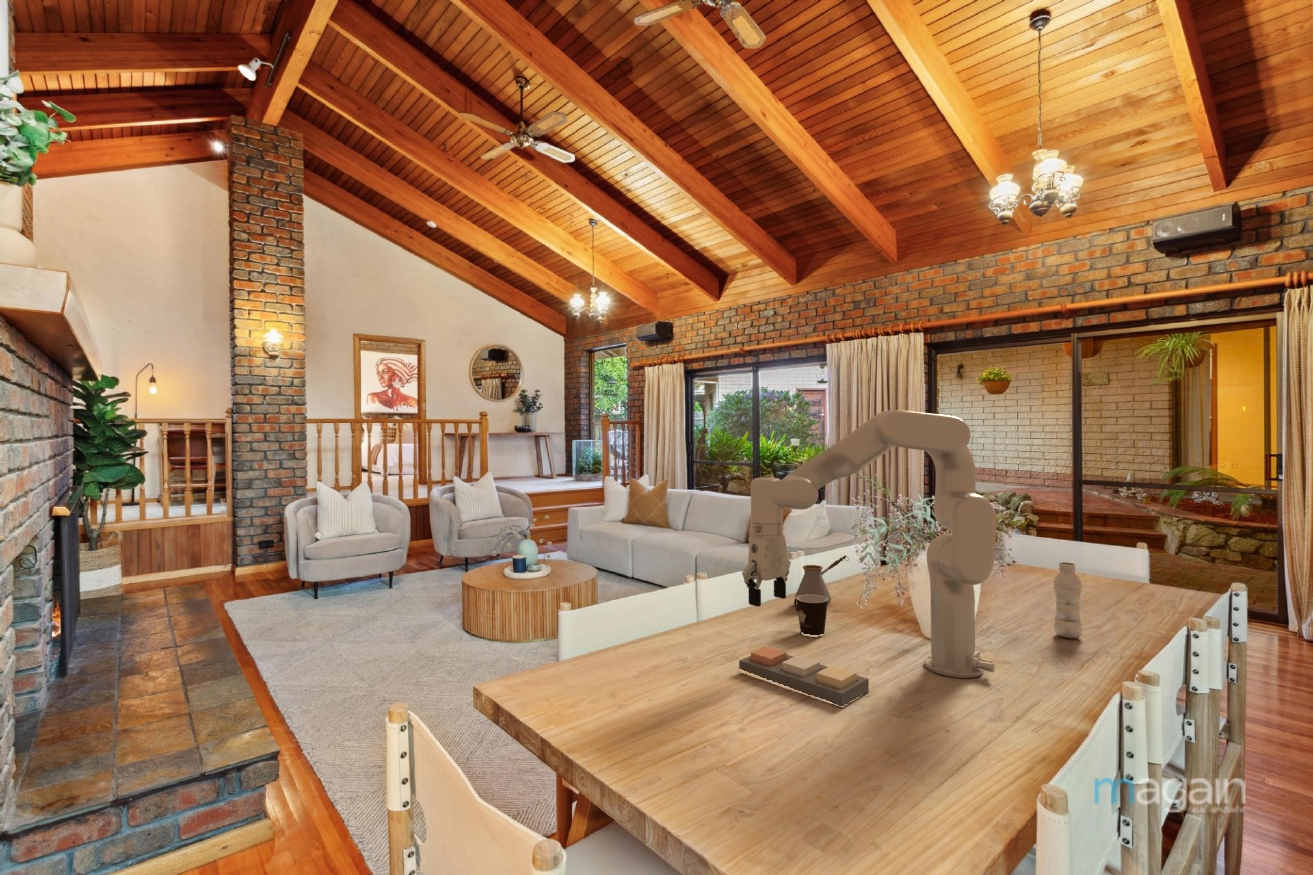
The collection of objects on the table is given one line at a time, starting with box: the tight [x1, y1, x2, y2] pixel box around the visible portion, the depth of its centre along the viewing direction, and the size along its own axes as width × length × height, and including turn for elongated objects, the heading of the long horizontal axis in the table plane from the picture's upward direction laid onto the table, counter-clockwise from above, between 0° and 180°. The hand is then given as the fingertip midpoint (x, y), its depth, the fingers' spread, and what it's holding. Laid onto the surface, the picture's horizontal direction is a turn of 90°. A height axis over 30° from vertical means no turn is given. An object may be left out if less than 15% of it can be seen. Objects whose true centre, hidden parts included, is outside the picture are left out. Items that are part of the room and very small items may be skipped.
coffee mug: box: [793, 595, 828, 635], centre depth 176 cm, size 12×9×10 cm
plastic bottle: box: [1053, 561, 1083, 639], centre depth 169 cm, size 6×7×20 cm
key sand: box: [817, 665, 857, 689], centre depth 135 cm, size 6×6×2 cm
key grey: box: [782, 655, 821, 677], centre depth 141 cm, size 6×6×2 cm
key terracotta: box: [750, 646, 788, 667], centre depth 148 cm, size 6×6×2 cm
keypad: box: [738, 654, 870, 706], centre depth 141 cm, size 27×11×3 cm, turn 43°
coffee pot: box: [794, 555, 850, 606], centre depth 205 cm, size 21×12×15 cm, turn 119°
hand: (767, 601), depth 148 cm, fingers open, 9 cm apart
